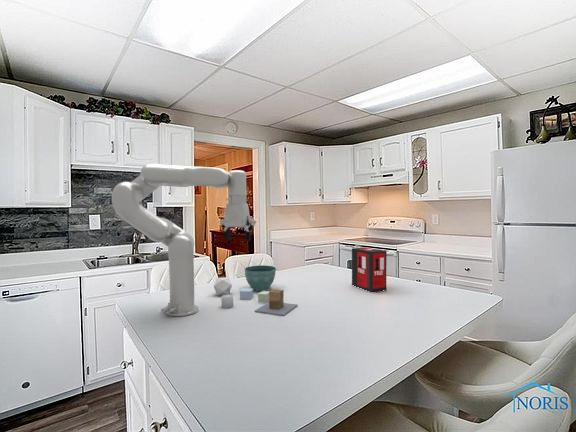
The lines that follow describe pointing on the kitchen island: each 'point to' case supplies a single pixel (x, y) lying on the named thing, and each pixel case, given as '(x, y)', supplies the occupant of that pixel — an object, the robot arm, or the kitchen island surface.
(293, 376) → the kitchen island surface
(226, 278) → the die
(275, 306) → the walnut block
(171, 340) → the kitchen island surface
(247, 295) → the dusty blue cube
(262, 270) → the flower pot
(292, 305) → the slate mat
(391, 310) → the kitchen island surface
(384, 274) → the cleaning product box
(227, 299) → the grey rounded piece
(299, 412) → the kitchen island surface
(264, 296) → the sage block
